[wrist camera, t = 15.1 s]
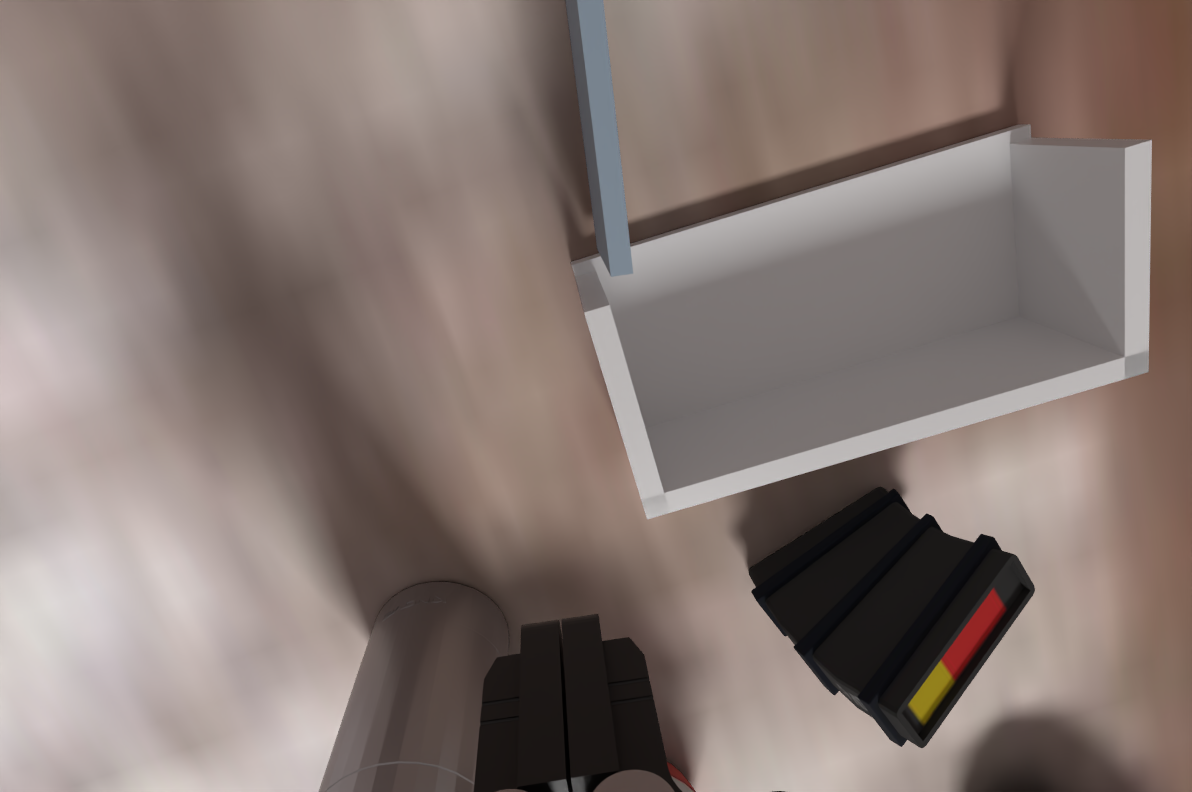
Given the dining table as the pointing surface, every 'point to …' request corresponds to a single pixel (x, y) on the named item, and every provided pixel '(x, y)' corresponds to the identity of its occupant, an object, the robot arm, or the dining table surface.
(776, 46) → the dining table surface
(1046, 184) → the case
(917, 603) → the black ridged battery pack
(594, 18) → the door
